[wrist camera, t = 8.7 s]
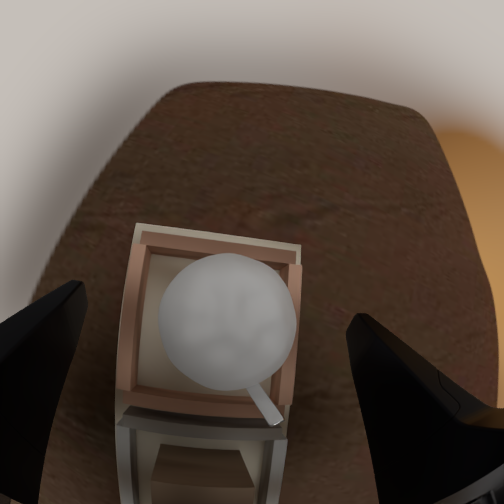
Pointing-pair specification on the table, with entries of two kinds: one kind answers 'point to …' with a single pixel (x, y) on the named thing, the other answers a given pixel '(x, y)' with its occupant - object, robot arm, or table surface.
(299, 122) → the table surface
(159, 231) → the grey-brown divided tray
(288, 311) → the milkshake
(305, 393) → the table surface
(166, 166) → the table surface
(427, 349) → the table surface
